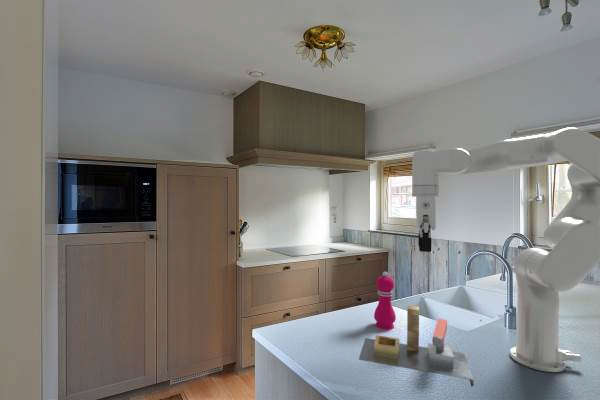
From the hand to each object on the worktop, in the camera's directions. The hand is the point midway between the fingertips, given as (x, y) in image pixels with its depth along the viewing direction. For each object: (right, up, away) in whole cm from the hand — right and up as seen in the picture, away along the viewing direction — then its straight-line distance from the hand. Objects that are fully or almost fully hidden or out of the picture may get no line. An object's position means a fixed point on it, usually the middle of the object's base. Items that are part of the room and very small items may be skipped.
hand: (424, 248), depth 95 cm
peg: (-4, -29, -2) cm, 29 cm away
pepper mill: (-8, -30, +15) cm, 35 cm away
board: (-6, -30, -6) cm, 31 cm away
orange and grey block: (+1, -26, -9) cm, 28 cm away
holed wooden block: (-12, -29, -4) cm, 32 cm away
